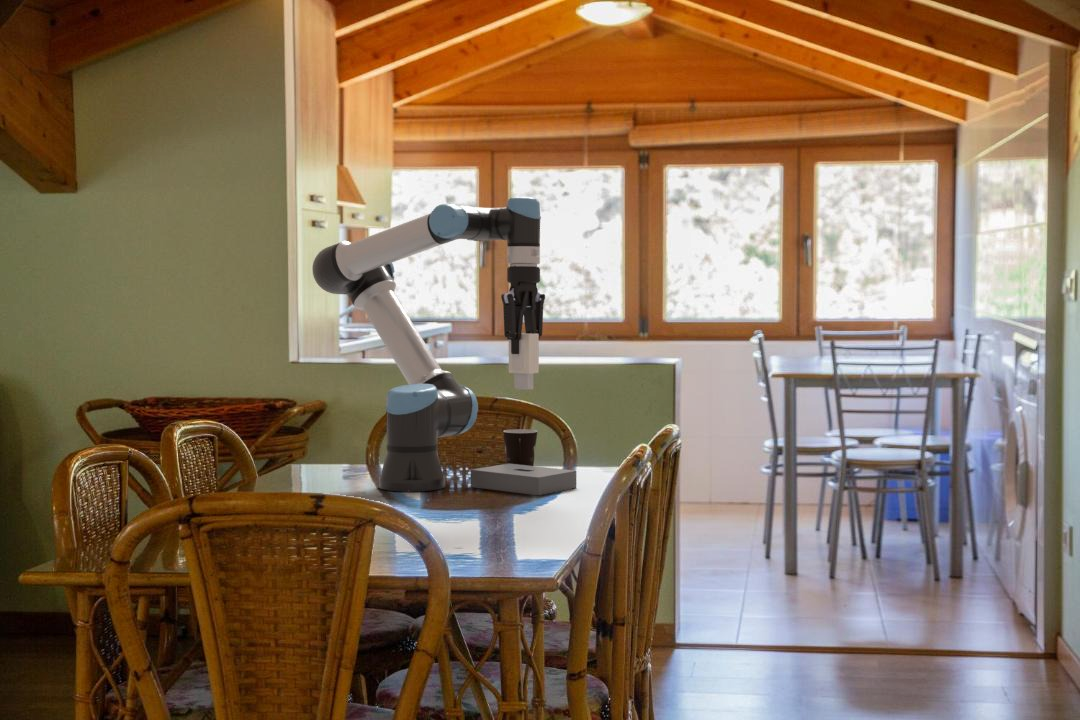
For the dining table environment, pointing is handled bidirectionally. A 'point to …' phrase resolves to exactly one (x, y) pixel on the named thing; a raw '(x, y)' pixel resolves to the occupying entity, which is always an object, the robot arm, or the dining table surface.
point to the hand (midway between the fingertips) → (523, 368)
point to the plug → (526, 361)
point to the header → (523, 479)
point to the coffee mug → (520, 446)
